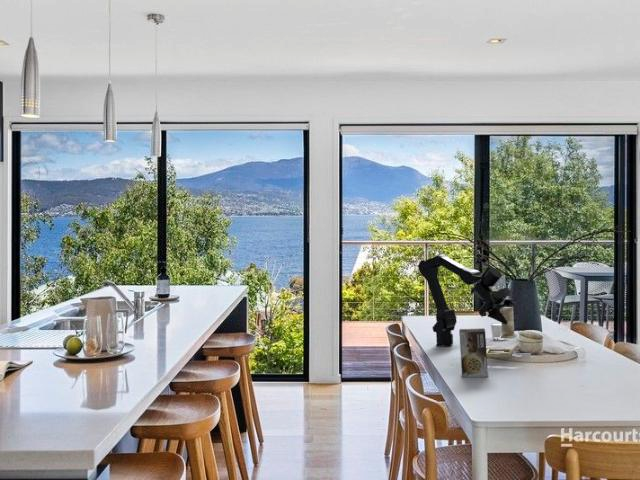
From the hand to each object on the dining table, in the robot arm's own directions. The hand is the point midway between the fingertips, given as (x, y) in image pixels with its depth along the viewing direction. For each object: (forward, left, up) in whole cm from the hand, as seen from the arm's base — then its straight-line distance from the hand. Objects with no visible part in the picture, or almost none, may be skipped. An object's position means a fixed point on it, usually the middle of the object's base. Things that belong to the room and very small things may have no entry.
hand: (510, 322), depth 270 cm
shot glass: (-8, +34, -13) cm, 37 cm away
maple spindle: (-1, +1, -6) cm, 6 cm away
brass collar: (-4, -6, -12) cm, 14 cm away
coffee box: (-9, -39, -13) cm, 43 cm away
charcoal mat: (-4, 0, -13) cm, 13 cm away
